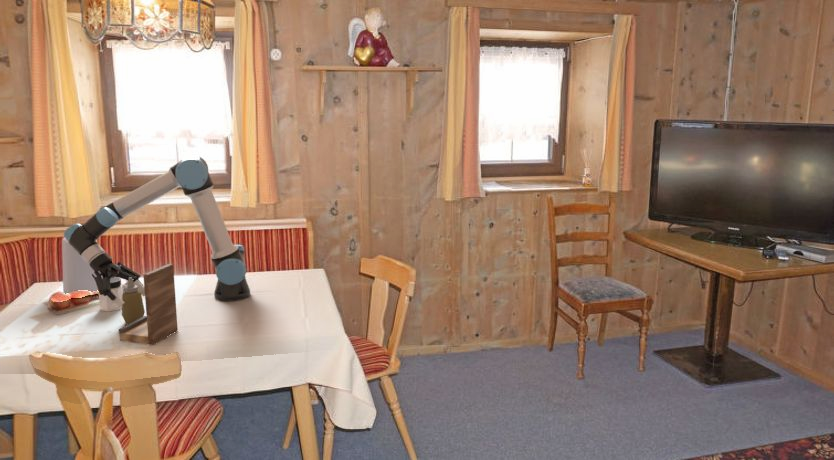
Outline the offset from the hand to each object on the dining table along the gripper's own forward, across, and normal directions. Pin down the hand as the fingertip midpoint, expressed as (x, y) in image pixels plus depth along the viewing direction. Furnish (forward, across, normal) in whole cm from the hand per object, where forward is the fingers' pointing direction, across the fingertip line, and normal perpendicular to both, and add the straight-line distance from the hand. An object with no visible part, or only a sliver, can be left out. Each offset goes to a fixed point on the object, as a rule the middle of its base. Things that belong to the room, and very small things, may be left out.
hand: (134, 299), depth 235 cm
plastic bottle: (-25, -24, -39) cm, 52 cm away
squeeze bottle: (+6, 0, -8) cm, 10 cm away
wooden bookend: (+16, +10, +3) cm, 19 cm away
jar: (-7, -11, -21) cm, 25 cm away
